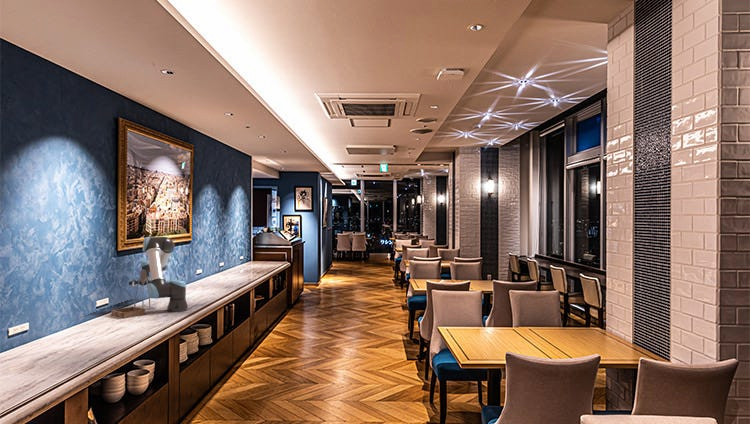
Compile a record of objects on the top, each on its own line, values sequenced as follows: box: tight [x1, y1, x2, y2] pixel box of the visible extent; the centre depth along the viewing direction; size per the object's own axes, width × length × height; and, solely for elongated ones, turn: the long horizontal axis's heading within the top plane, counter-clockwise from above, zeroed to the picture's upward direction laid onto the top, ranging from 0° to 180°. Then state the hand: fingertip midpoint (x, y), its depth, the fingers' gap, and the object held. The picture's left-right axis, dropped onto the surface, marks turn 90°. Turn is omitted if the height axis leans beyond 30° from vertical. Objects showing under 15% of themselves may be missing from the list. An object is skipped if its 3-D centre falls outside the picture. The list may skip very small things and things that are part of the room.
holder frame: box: [110, 306, 146, 319], centre depth 350 cm, size 16×17×4 cm
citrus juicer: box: [133, 270, 151, 308], centre depth 372 cm, size 11×10×30 cm
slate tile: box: [136, 304, 155, 311], centre depth 372 cm, size 14×14×1 cm
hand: (142, 284), depth 380 cm, fingers open, 13 cm apart
